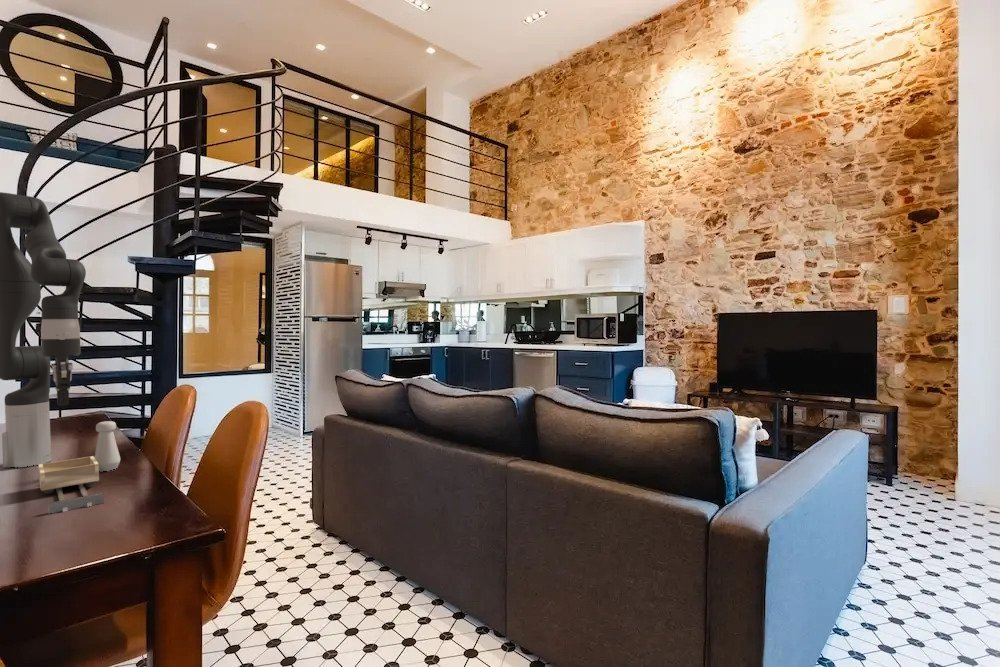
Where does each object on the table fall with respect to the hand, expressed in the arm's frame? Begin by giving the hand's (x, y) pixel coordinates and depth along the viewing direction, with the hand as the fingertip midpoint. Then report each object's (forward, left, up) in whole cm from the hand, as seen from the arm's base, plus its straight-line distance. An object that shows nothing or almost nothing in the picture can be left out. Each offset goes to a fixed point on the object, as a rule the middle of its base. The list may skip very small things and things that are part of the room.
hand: (63, 405), depth 130 cm
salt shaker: (+7, +5, -19) cm, 21 cm away
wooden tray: (+4, -9, -19) cm, 21 cm away
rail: (+7, -15, -19) cm, 25 cm away
